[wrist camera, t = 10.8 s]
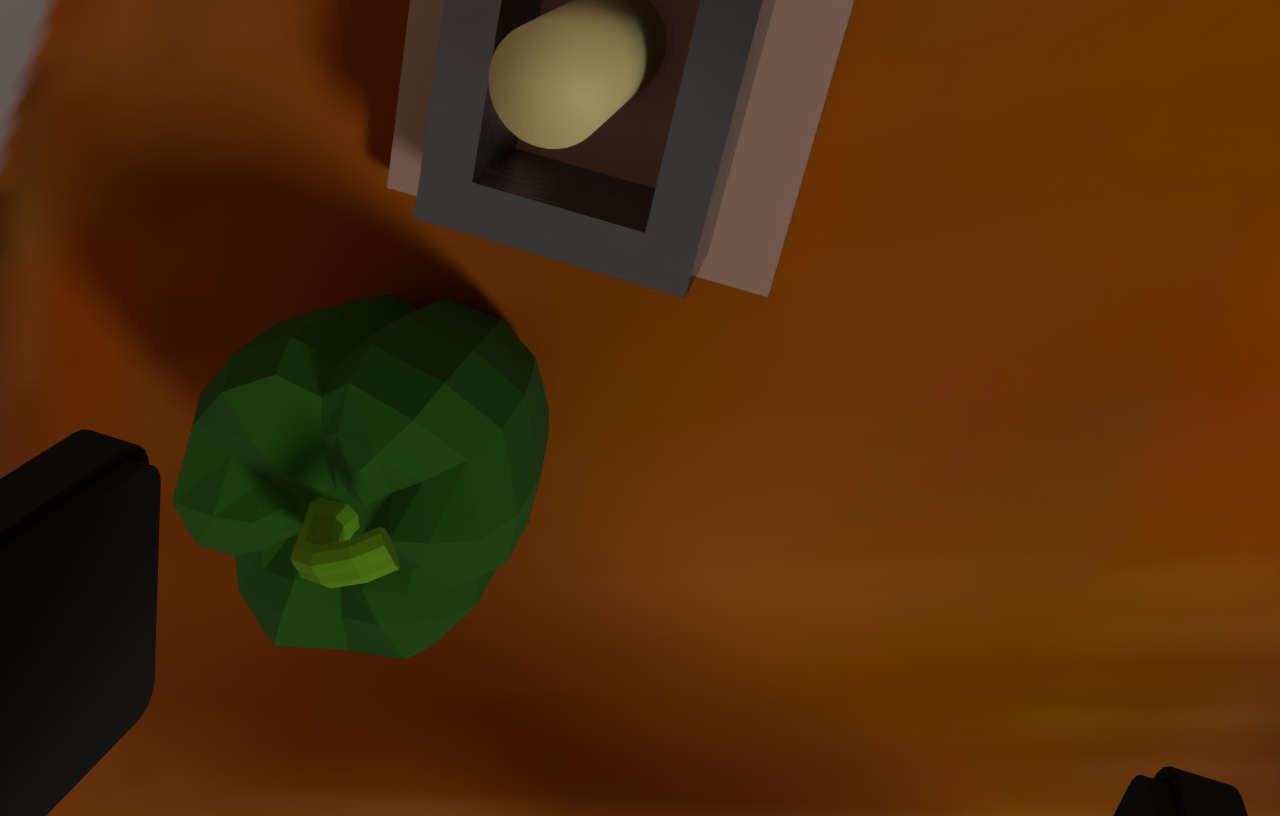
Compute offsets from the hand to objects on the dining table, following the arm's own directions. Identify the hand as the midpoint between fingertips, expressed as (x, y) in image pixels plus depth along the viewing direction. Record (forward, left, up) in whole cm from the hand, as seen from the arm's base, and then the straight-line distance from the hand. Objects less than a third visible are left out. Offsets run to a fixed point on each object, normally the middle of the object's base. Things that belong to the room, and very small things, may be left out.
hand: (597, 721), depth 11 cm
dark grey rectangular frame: (+2, +5, -19) cm, 20 cm away
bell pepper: (-9, +8, -21) cm, 24 cm away
